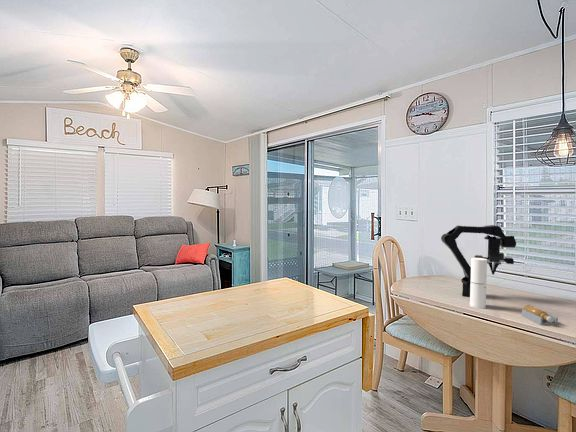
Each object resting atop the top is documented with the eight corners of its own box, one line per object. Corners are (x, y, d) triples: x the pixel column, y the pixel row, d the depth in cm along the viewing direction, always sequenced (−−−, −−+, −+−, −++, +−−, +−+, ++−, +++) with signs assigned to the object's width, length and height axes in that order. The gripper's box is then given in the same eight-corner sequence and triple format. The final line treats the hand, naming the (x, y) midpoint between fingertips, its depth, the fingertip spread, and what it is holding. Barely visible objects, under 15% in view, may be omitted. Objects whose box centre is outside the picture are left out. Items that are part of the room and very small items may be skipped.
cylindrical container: (466, 304, 173) (468, 257, 172) (479, 303, 174) (480, 257, 173) (475, 308, 166) (477, 260, 165) (488, 308, 167) (490, 260, 166)
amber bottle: (521, 311, 157) (544, 322, 143) (525, 303, 156) (548, 313, 143) (529, 315, 157) (553, 326, 143) (533, 307, 157) (557, 317, 143)
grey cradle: (522, 316, 156) (522, 309, 155) (537, 315, 156) (538, 309, 156) (540, 324, 145) (540, 317, 144) (557, 324, 145) (557, 317, 145)
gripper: (475, 248, 182) (474, 275, 183) (515, 250, 173) (514, 279, 174) (474, 245, 192) (474, 271, 193) (512, 247, 183) (511, 275, 184)
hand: (493, 274), depth 186 cm, fingers closed
